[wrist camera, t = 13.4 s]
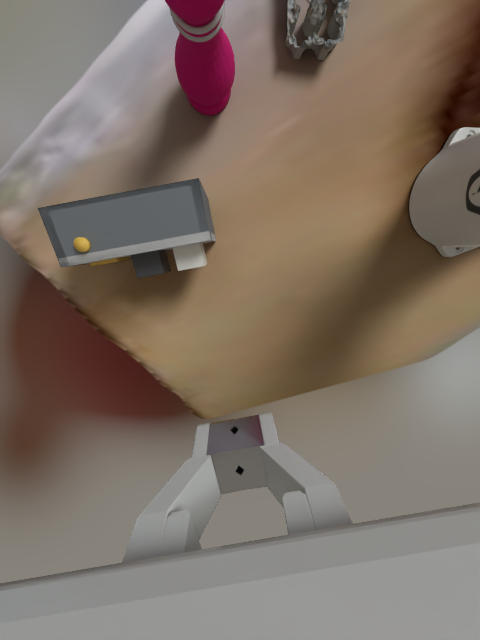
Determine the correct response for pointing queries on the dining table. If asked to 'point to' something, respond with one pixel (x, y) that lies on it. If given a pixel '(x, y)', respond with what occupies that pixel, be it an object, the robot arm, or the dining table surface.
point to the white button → (190, 256)
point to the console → (129, 223)
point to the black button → (151, 263)
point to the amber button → (109, 261)
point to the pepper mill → (203, 53)
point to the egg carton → (316, 27)
